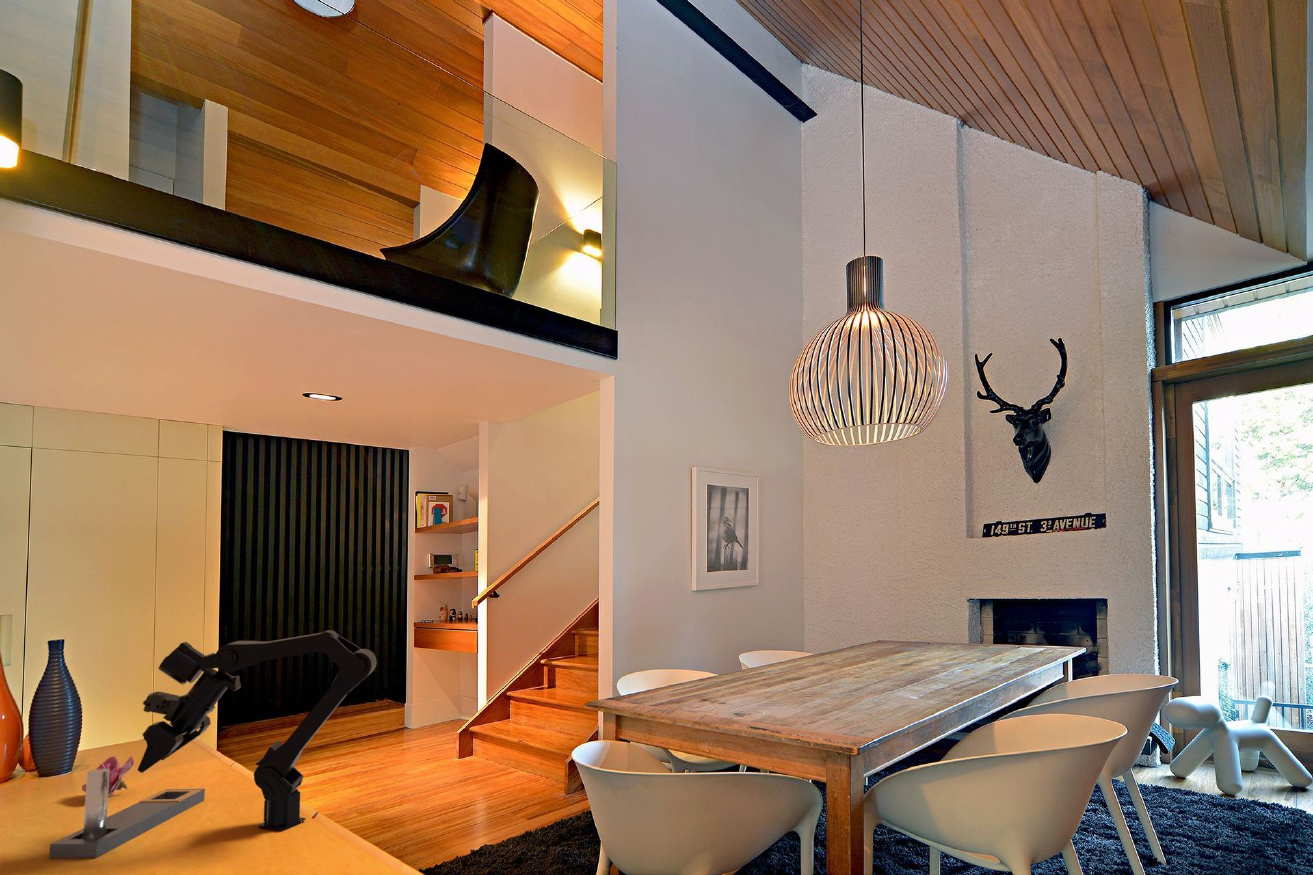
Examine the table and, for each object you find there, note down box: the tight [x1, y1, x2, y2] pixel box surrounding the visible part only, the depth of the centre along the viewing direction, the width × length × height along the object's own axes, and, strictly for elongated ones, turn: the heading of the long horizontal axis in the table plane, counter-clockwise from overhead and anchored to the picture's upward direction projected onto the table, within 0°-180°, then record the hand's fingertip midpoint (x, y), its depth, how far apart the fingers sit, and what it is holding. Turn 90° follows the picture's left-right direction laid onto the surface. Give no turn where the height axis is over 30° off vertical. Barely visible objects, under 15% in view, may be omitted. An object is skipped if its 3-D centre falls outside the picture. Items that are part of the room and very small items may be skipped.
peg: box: [82, 769, 110, 839], centre depth 153 cm, size 4×4×14 cm
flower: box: [81, 755, 135, 804], centre depth 184 cm, size 11×10×10 cm
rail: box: [48, 788, 206, 859], centre depth 164 cm, size 33×9×3 cm, turn 178°
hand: (150, 765), depth 160 cm, fingers open, 9 cm apart
